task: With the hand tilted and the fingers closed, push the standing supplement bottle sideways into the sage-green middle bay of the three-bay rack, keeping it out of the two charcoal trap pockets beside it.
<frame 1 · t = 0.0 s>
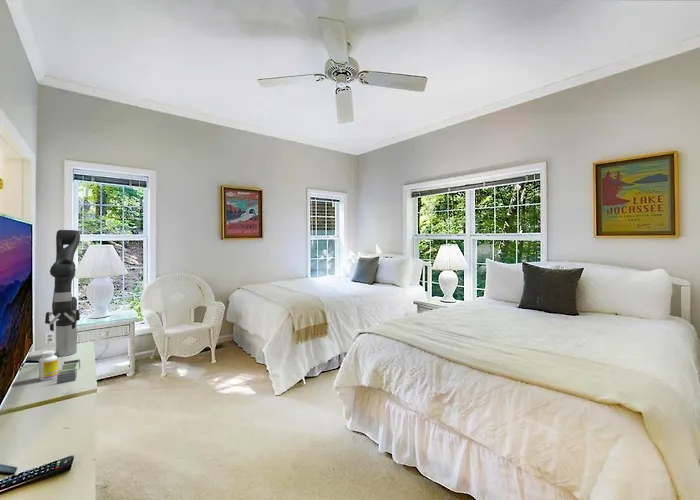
hand: (62, 329, 181), 17 cm above the tv stand, tool pointing down, fingers open, 8 cm apart
bay rack: (69, 374, 163), on the tv stand
supplement bottle: (48, 378, 159), on the tv stand
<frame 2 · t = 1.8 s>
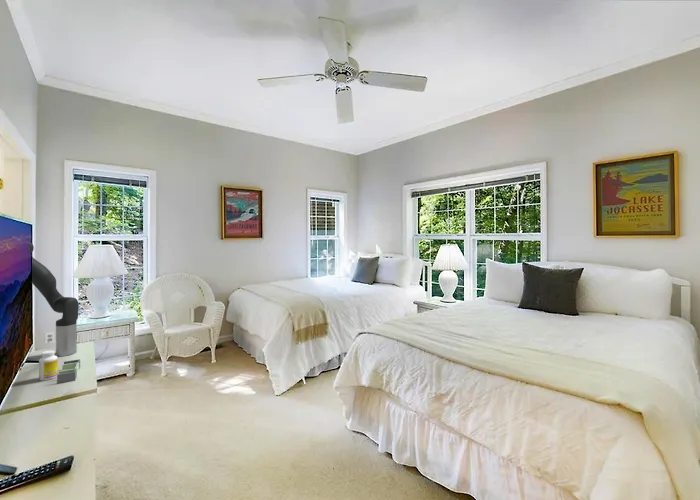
hand: (12, 329, 154), 24 cm above the tv stand, tool tilted 45°, fingers open, 6 cm apart
nothing on the tv stand moved.
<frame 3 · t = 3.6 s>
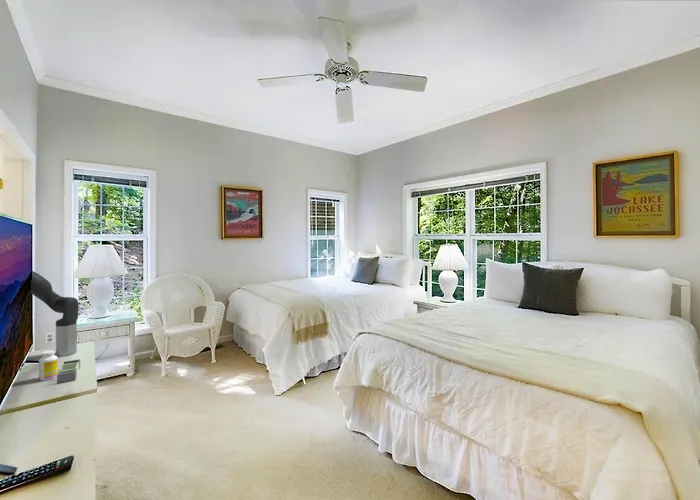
hand: (10, 358, 151), 12 cm above the tv stand, tool tilted 45°, fingers closed
nothing on the tv stand moved.
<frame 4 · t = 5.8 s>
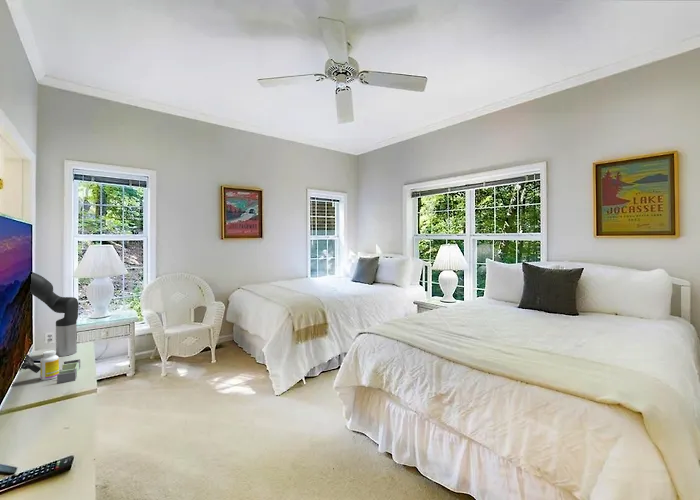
hand: (39, 370, 157), 4 cm above the tv stand, tool tilted 45°, fingers closed
supplement bottle: (49, 378, 159), on the tv stand, touching gripper
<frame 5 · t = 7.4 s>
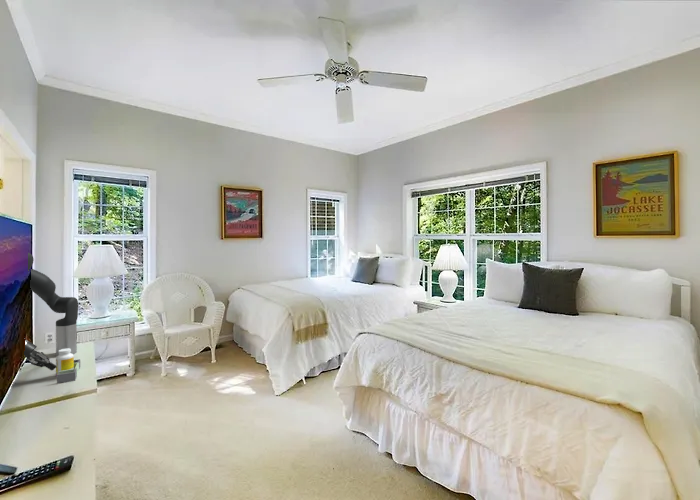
hand: (54, 368, 160), 4 cm above the tv stand, tool tilted 45°, fingers closed
supplement bottle: (65, 375, 162), on the tv stand, touching gripper
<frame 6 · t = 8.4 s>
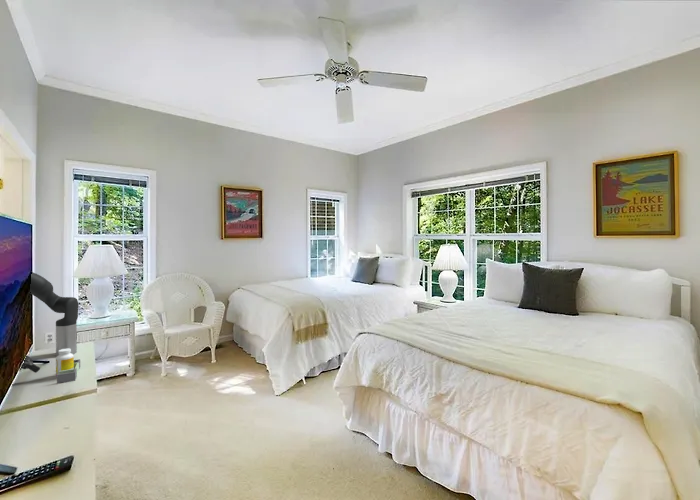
hand: (38, 370, 157), 5 cm above the tv stand, tool tilted 45°, fingers closed
supplement bottle: (65, 375, 162), on the tv stand
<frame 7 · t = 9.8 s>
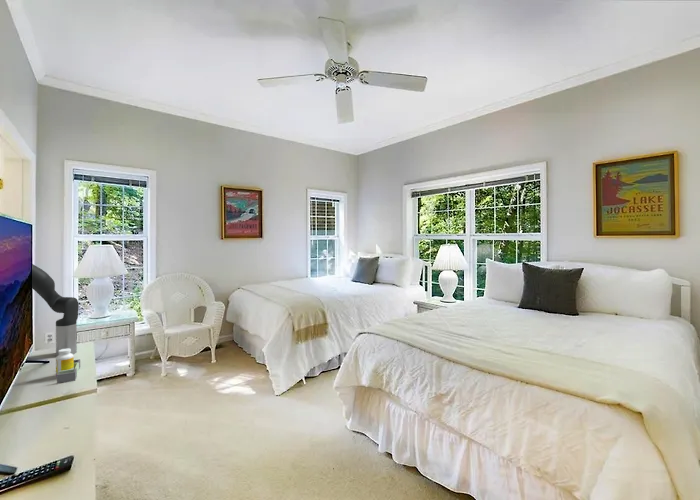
hand: (18, 348, 153), 16 cm above the tv stand, tool tilted 45°, fingers closed
nothing on the tv stand moved.
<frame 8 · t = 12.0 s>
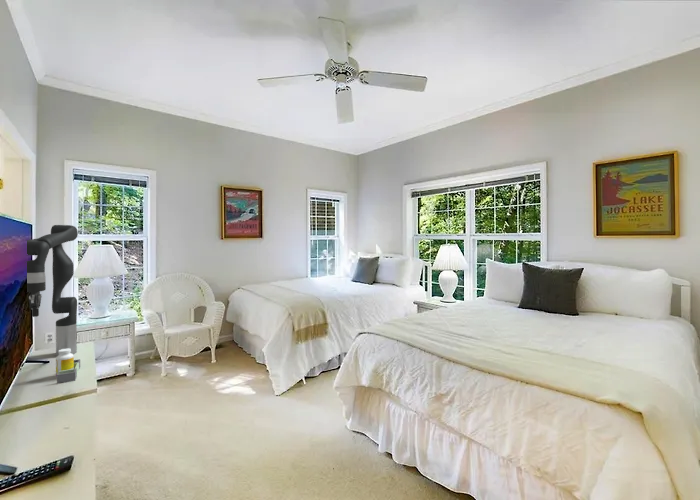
hand: (35, 316, 162), 29 cm above the tv stand, tool pointing down, fingers closed
nothing on the tv stand moved.
at the end: supplement bottle 0.4 cm from the target spot, on the tv stand; supplement bottle tilted 0° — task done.
